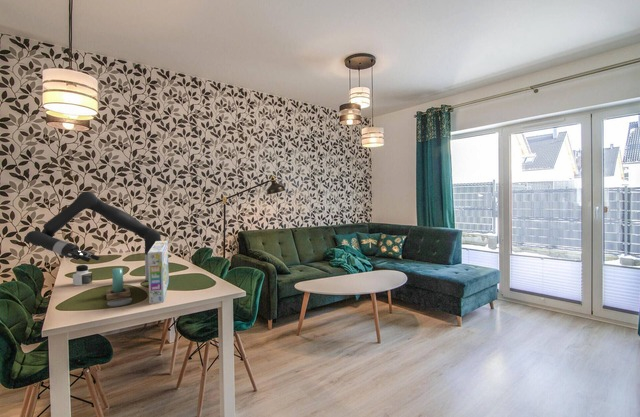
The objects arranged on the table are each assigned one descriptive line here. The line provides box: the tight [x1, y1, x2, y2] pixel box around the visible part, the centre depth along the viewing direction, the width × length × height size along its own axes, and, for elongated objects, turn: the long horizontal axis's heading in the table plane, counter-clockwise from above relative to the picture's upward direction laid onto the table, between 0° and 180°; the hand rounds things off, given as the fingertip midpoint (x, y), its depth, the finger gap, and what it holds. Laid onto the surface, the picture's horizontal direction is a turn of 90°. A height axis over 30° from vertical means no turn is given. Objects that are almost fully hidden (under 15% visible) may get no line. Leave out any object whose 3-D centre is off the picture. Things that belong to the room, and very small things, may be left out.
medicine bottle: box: [72, 264, 93, 287], centre depth 200 cm, size 7×7×12 cm
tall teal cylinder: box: [111, 267, 124, 293], centre depth 177 cm, size 5×5×15 cm
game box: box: [148, 240, 170, 305], centre depth 183 cm, size 40×7×27 cm, turn 22°
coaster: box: [106, 297, 133, 308], centre depth 165 cm, size 11×11×1 cm
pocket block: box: [105, 286, 131, 301], centre depth 178 cm, size 11×11×2 cm
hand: (94, 259), depth 178 cm, fingers open, 8 cm apart
